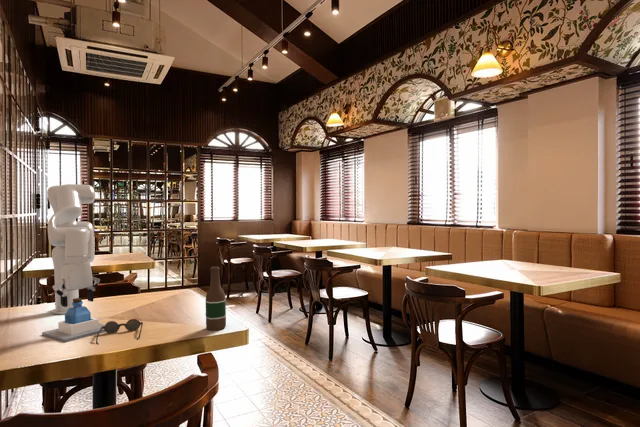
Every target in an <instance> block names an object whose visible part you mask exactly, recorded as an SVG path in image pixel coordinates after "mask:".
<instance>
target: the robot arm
mask: <svg viewBox="0 0 640 427" xmlns="http://www.w3.org/2000/svg"><path fill="white" fill-rule="evenodd" d="M46 192H47V199H48V202H49V205H50V207H51V208H52V211H53V215H51V216H50V219H49V220H48V223H47V237H48V242H49V244H50V245H51V246H53V249H51V259H52V263H53V265H52V266H53V272H54V285H52V290H53V291H54V295H55V296H54V301H55V302H54V305H55V308H54V309H51V314H52V315H65V314H66V312H67V311H68V309H69V308H72V307H73V305H72V302H73V299H75V298H80V297H79V296H80V295H79V293H80V292H79V291H80V290H82V289H87V293H86V294H87V296H86V297H87V301H88V302H94V299H95V291H96V289H97V288H98V287H99V284H100V282H101V279H100V278H98V277H96V276H93V272H92V266H91V263H92V262H93V261H94V260H95V253H96V252H95V229H94V226H93V224H92V223H91V222H89V221H86V220H85V221H76V220H77V218H78V219H79V217H81V215H82V213H83V208H82V205H84V204H85V205H87V204H88V205H89V204H93V203H94V202H95V199H96V191H95V189H94V187H93V186H92V185H90V184H80V183H79V184H76V183H74V184H73V183H70V184H66V183H65V184H62V185H60V184H59V185H53V186H49V187H48V189H47V191H46ZM93 281H94V283H93Z"/></svg>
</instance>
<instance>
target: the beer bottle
mask: <svg viewBox="0 0 640 427" xmlns="http://www.w3.org/2000/svg"><path fill="white" fill-rule="evenodd" d="M209 270H210V283H209V284H210V285H209V289H208V290H207V292H206V294H205V326H206V330H208V331H211V332H215V331H221V330H224V329H225V328H226V327H227V310H226V309H227V307H226V303H227V302H226V293H225V291H224V289H223V288H222V285H221V278H220V267H219V266H211V267H210V268H209Z"/></svg>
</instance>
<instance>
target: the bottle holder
mask: <svg viewBox="0 0 640 427" xmlns="http://www.w3.org/2000/svg"><path fill="white" fill-rule="evenodd" d="M57 323H58V324H57V325H58V328H55V329H50V330H47V331H42V332H41V334H42V336H45V337H46V338H51V339H54V340H57V341H60V342H63V343H68V342H71V341H75V340H80V339H83V338H86V337H90V336H95V335H97V334H98V332H99V330H100V329H101V327H102V326H105V324H106V323H105V324H104V323H100V322H99V319H98V318H95V317H91V320H90V321H85V322H81V323H77V324H69V323H65V320H61V321H58V322H57ZM102 333H107V332H106V331H105V330H104V329H102V330H101V332H100V334H102Z"/></svg>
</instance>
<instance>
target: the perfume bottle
mask: <svg viewBox="0 0 640 427" xmlns="http://www.w3.org/2000/svg"><path fill="white" fill-rule="evenodd" d="M83 303H84V302H83V297H79V298H75V299H73V302H72V305H73V307H72V308H69V309H68V311H67V312H66V314H64V321H65V323H69V324H77V323H81V322H85V321H90V320H91V318H92V317H91V311H90V310H89V309H88V308H87V307H86V306H83Z"/></svg>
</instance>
